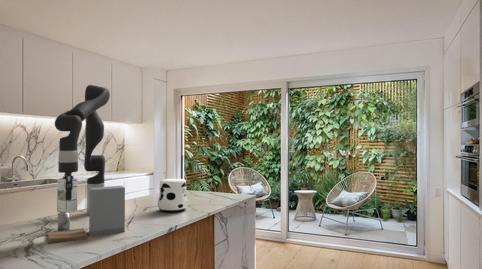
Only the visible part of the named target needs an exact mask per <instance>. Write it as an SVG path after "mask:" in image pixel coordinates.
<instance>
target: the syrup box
mask: <svg viewBox="0 0 482 269" xmlns="http://www.w3.org/2000/svg"><path fill="white" fill-rule="evenodd" d="M64 182H65V183H66V179H64V180H63V177H60V178H57V189H56V190H57V191H56V192H57V195H56V196H57V197H56V198H57V200H56V201H57V206H56V208H57V209H56V210H57V213H60V212H62V213H70V214H71V213H73V212H77V211H78V177H74V179H73V186H72V188H73V189H72V199H71V200H66V191H65V187H64ZM68 182H70V181H68ZM67 185H68V184H67ZM67 187H69V186H67Z"/></svg>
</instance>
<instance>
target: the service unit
mask: <svg viewBox="0 0 482 269" xmlns="http://www.w3.org/2000/svg"><path fill="white" fill-rule="evenodd" d="M125 210H126V187H125V186H123V185H112V186H111V185H110V186H104V187H94V188H90V201H89V216H88V217H89V219H88V220H89V221H88V222H89V223H88V225H89V226H88V229H89V230H88V231H89V232H88V233H89V236H90V237H94V236H103V235H110V234H116V233H124V232H125V231H126V230H125V228H126V227H125V226H126V223H125V222H126V221H125V220H126V217H125V216H126V214H125V213H126V211H125Z"/></svg>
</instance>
